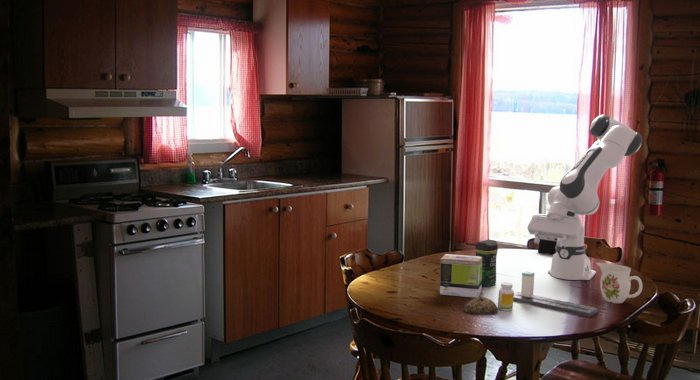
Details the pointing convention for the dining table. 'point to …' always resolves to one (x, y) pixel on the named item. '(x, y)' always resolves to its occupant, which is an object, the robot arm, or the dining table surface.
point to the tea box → (461, 275)
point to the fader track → (556, 305)
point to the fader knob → (527, 284)
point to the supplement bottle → (506, 297)
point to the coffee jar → (487, 260)
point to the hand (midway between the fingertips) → (547, 244)
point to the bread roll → (480, 306)
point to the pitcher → (617, 282)
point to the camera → (547, 245)
